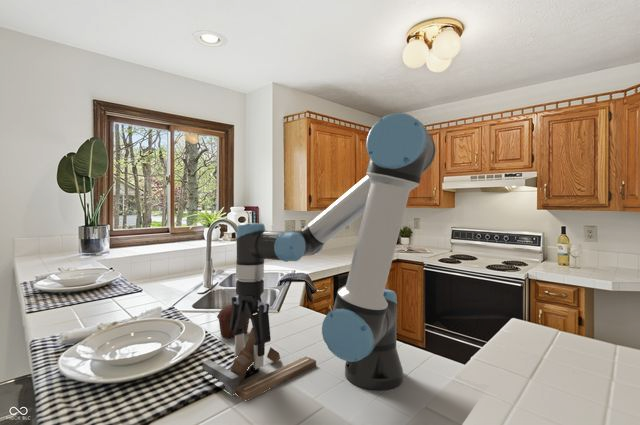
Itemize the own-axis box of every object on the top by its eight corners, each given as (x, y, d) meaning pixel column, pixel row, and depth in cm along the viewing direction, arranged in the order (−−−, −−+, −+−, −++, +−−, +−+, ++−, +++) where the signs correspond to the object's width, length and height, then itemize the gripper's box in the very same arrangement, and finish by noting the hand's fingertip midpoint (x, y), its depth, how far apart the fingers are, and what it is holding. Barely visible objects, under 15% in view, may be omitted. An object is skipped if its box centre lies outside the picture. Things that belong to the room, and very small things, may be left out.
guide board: (316, 365, 92) (316, 351, 92) (242, 403, 73) (242, 385, 73) (275, 349, 103) (275, 336, 103) (202, 377, 84) (202, 362, 84)
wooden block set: (239, 396, 80) (252, 361, 78) (213, 375, 83) (226, 341, 81) (278, 363, 96) (290, 334, 94) (255, 347, 99) (267, 318, 97)
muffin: (254, 329, 121) (255, 302, 121) (245, 340, 110) (245, 310, 110) (223, 328, 122) (224, 301, 122) (211, 338, 111) (211, 309, 111)
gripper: (285, 282, 86) (284, 369, 86) (239, 272, 100) (237, 348, 100) (263, 286, 81) (261, 380, 80) (217, 276, 94) (215, 355, 94)
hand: (248, 362), depth 90 cm, fingers closed on wooden block set, 8 cm apart
